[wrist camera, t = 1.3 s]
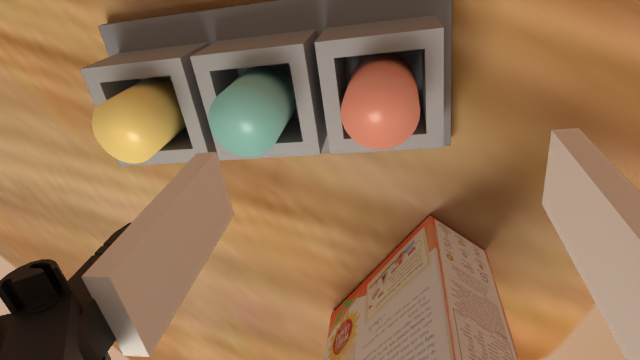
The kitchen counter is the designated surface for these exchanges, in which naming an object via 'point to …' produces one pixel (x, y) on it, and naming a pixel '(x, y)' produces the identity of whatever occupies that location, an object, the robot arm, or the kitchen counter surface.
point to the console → (282, 66)
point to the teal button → (252, 111)
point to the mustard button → (138, 120)
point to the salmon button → (381, 102)
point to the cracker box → (425, 305)
